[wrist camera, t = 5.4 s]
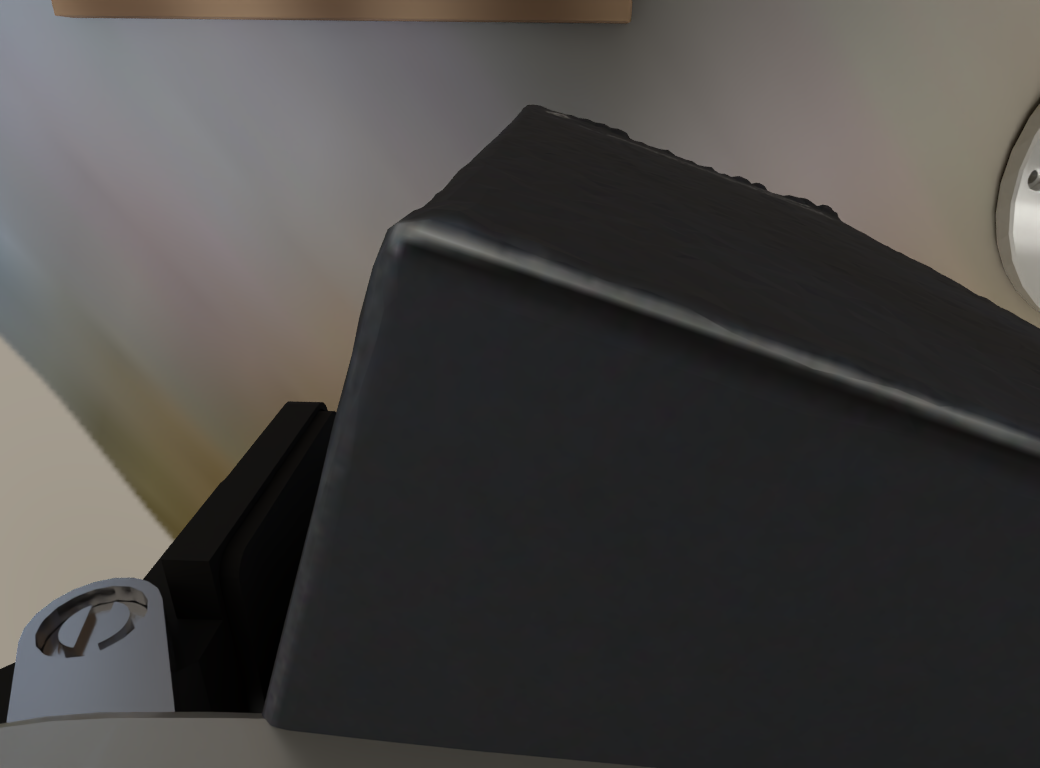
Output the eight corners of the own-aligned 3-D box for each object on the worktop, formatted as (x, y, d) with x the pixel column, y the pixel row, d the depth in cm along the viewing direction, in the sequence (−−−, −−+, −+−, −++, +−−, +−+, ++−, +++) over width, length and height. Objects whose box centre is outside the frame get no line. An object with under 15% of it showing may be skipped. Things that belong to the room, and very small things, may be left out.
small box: (504, 84, 12) (310, 120, 2) (837, 208, 12) (1789, 646, 3) (366, 540, 16) (100, 1218, 7) (619, 615, 17) (711, 1328, 7)
